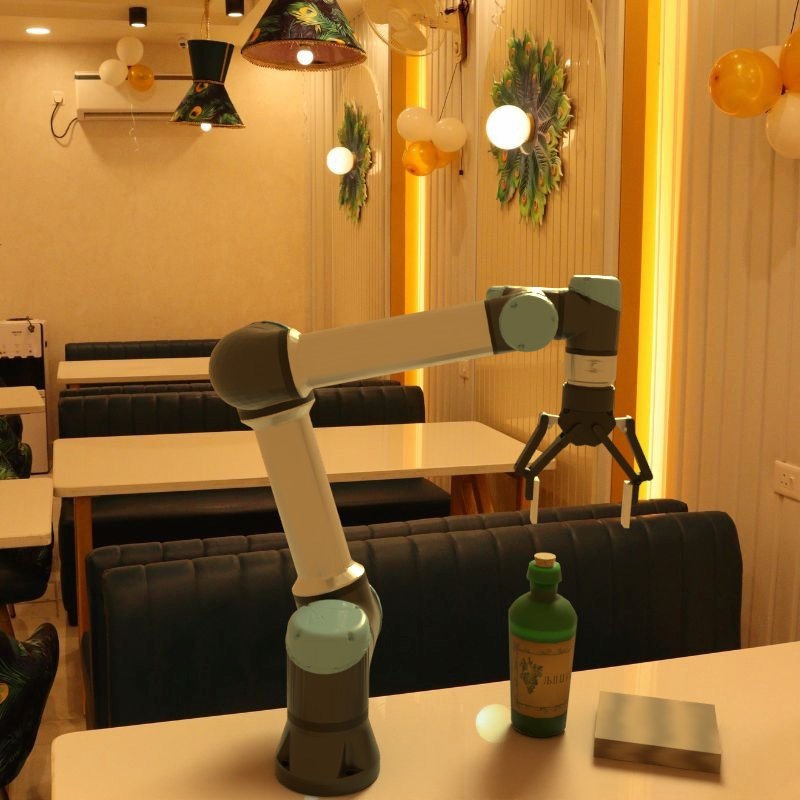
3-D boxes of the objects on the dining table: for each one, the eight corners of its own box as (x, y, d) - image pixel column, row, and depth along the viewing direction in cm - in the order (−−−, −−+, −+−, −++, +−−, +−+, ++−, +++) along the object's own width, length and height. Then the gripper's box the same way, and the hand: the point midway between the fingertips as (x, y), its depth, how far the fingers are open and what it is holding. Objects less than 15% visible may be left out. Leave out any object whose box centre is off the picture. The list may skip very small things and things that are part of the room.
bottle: (519, 747, 151) (526, 569, 147) (494, 714, 162) (499, 547, 157) (583, 738, 154) (592, 564, 150) (555, 707, 164) (562, 543, 160)
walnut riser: (593, 756, 149) (594, 737, 149) (598, 707, 164) (599, 690, 164) (719, 773, 145) (721, 754, 144) (713, 722, 160) (714, 704, 160)
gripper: (505, 382, 142) (496, 526, 146) (681, 390, 142) (669, 534, 145) (501, 375, 150) (493, 512, 153) (669, 382, 149) (657, 520, 153)
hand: (579, 523), depth 149 cm, fingers open, 13 cm apart
